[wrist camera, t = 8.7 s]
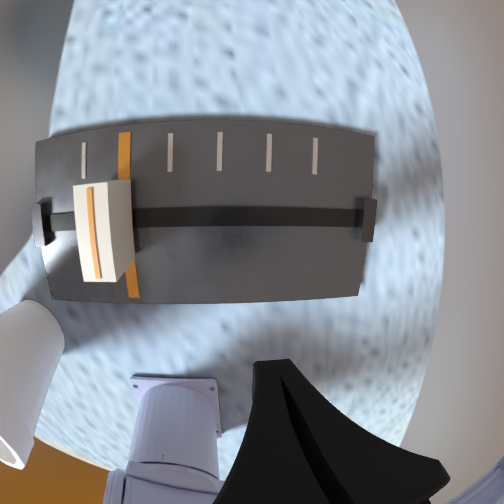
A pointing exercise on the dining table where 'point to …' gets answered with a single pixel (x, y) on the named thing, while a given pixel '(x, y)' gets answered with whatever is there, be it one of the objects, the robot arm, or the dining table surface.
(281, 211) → the console
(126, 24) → the dining table surface
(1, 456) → the foam cup
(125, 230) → the block
